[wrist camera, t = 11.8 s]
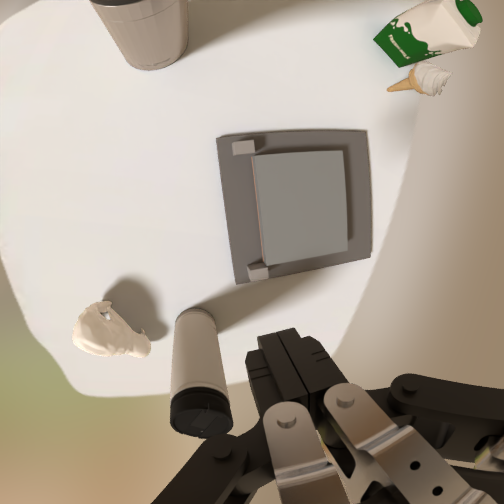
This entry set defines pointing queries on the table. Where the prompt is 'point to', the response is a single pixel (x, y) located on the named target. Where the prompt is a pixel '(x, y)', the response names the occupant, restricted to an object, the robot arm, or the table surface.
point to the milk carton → (430, 31)
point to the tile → (300, 205)
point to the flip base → (245, 205)
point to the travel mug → (198, 378)
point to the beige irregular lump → (108, 333)
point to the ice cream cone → (423, 79)
